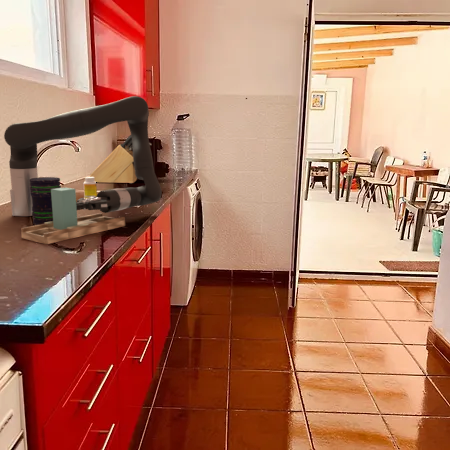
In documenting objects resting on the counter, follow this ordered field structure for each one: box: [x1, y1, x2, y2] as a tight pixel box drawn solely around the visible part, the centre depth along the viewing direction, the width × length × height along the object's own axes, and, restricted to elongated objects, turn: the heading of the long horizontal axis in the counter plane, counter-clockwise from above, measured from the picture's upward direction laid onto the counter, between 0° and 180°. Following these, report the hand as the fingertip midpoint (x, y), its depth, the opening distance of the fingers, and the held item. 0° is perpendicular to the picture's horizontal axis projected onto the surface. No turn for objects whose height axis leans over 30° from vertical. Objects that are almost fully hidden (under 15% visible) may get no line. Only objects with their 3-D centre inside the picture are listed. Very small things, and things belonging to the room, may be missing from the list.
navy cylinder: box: [30, 176, 62, 225], centre depth 158 cm, size 10×10×15 cm
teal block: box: [51, 187, 78, 230], centre depth 141 cm, size 5×5×12 cm
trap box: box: [20, 212, 126, 245], centre depth 146 cm, size 30×12×3 cm, turn 145°
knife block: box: [88, 134, 152, 184], centre depth 264 cm, size 11×35×31 cm, turn 90°
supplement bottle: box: [82, 176, 98, 199], centre depth 204 cm, size 6×6×10 cm
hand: (71, 207), depth 143 cm, fingers closed
